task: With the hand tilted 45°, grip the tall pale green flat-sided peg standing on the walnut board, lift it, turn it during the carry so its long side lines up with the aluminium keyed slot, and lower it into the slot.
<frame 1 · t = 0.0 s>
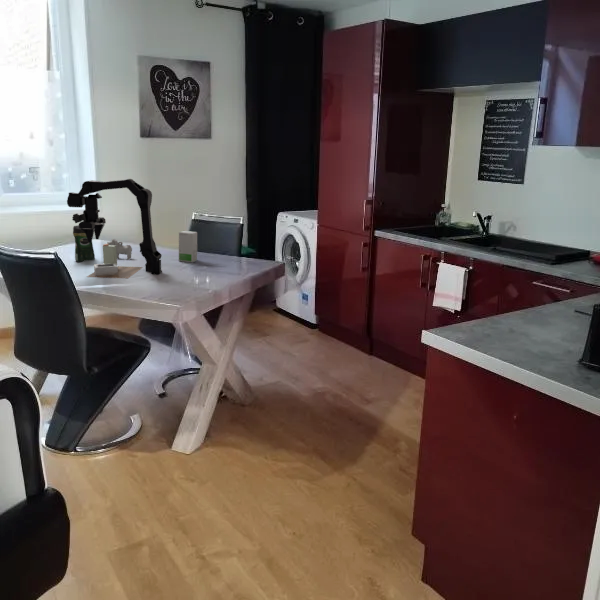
hand: (93, 240, 273), 15 cm above the table, tool pointing down, fingers open, 9 cm apart
keyed slot: (106, 273, 268), resting on walnut board
dog figurine: (120, 259, 306), on the table
skincare box: (188, 261, 307), on the table
walnut board: (115, 273, 273), on the table
keyed peg: (110, 268, 280), point 1 cm above the table, touching walnut board
coffee jar: (85, 261, 299), on the table
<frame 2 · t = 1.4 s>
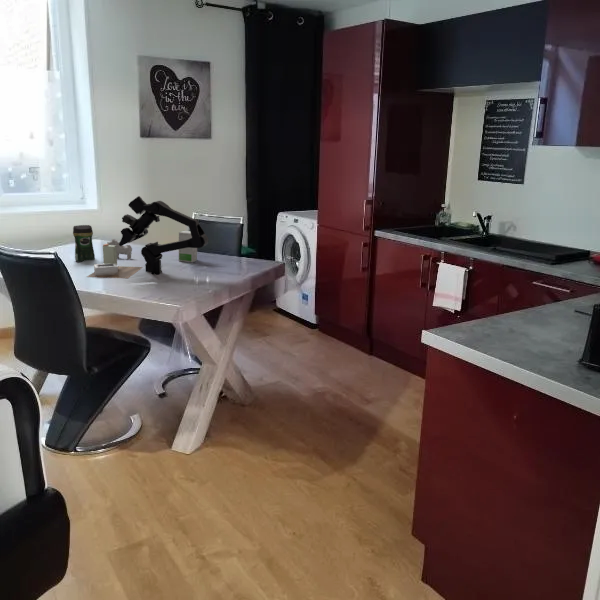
hand: (124, 243, 275), 13 cm above the table, tool tilted 45°, fingers open, 9 cm apart
nothing on the table moved.
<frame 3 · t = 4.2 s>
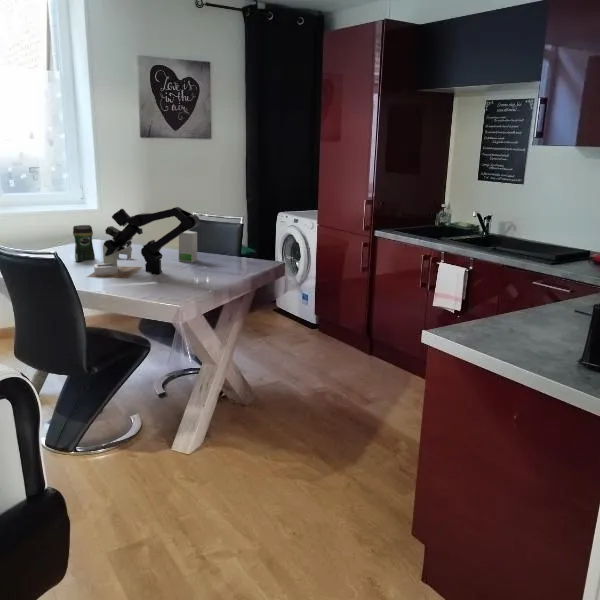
hand: (107, 255, 278), 7 cm above the table, tool tilted 45°, fingers closed on keyed peg, 3 cm apart
keyed peg: (110, 268, 280), point 1 cm above the table, touching gripper, walnut board
everything else where it was.
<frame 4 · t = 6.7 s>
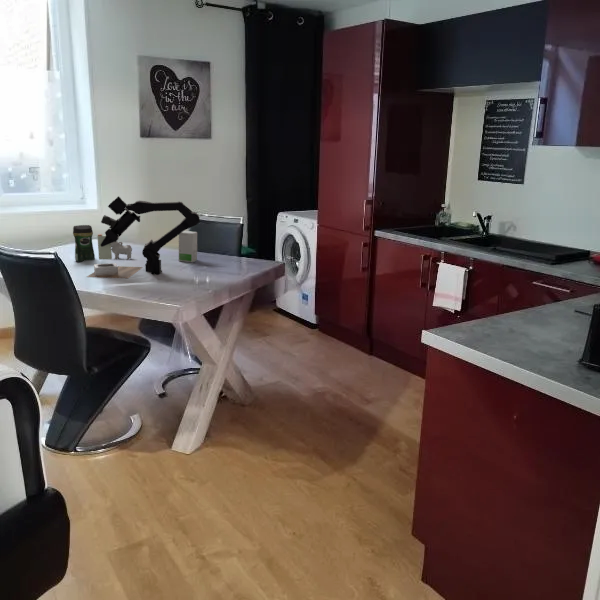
hand: (101, 245, 269), 14 cm above the table, tool tilted 45°, fingers closed on keyed peg, 3 cm apart
keyed peg: (105, 258, 271), point 7 cm above the table, touching gripper
everything else where it was.
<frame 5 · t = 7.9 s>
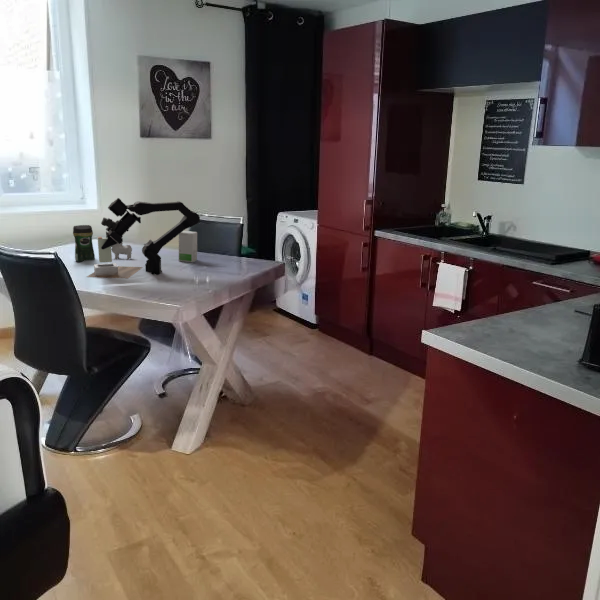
hand: (101, 248, 265), 13 cm above the table, tool tilted 45°, fingers closed on keyed peg, 3 cm apart
keyed peg: (105, 261, 267), point 7 cm above the table, touching gripper
everything else where it was.
when the fingers open (9 cm above the table, at t = 9.0 s): keyed peg drops 1 cm, resting on walnut board.
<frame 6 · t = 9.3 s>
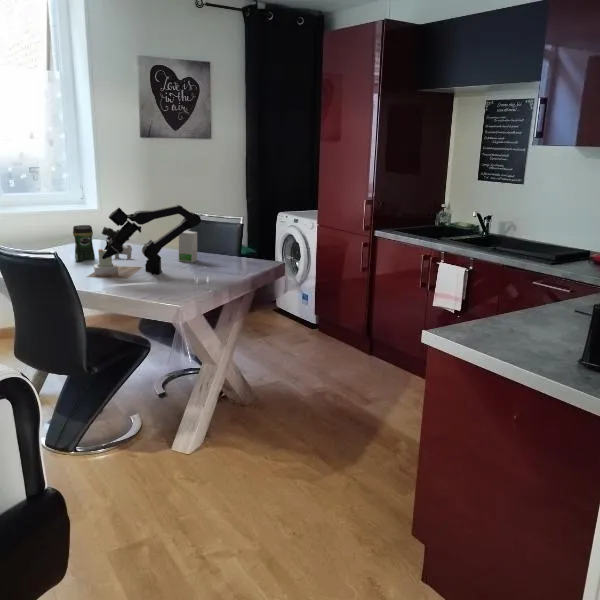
hand: (102, 257, 266), 9 cm above the table, tool tilted 45°, fingers open, 6 cm apart
keyed peg: (106, 273, 268), point 1 cm above the table, touching walnut board
everything else where it was.
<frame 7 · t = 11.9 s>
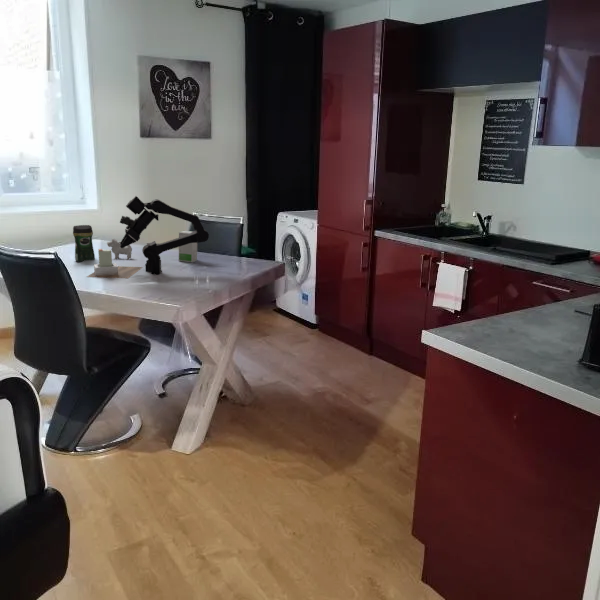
hand: (120, 246, 269), 14 cm above the table, tool tilted 45°, fingers open, 9 cm apart
nothing on the table moved.
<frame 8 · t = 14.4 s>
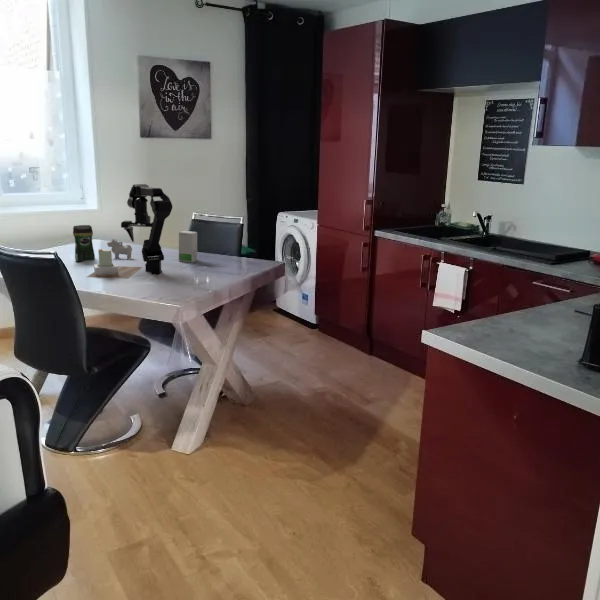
hand: (142, 242, 283), 13 cm above the table, tool pointing down, fingers open, 9 cm apart
nothing on the table moved.
at the end: keyed peg 0.0 cm off-centre on the keyed slot, point 0.0 cm above the keyed slot's base; keyed peg tilted 0°; the gripper is holding nothing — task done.
